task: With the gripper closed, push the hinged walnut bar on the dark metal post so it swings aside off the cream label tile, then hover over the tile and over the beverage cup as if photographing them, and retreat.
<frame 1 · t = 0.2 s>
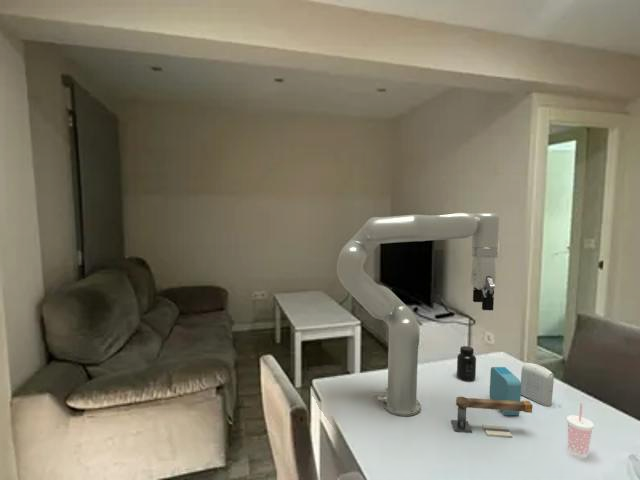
hand: (482, 305, 122), 36 cm above the table, tool pointing down, fingers open, 9 cm apart
post: (461, 427, 117), on the table
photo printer: (535, 400, 134), on the table
swing bar: (493, 404, 115), point 8 cm above the table, hinge at 0.0°
label tile: (496, 431, 115), on the table
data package: (503, 407, 129), on the table
beverage cup: (577, 453, 106), on the table
supplement bottle: (465, 378, 151), on the table
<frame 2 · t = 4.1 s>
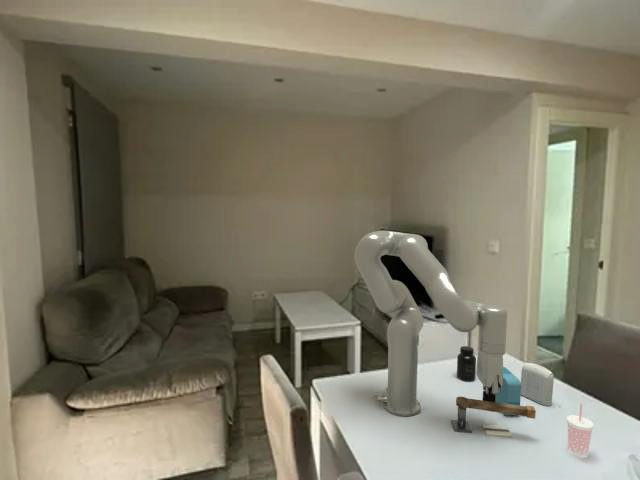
hand: (488, 404, 117), 7 cm above the table, tool pointing down, fingers closed
swing bar: (494, 406, 114), point 8 cm above the table, hinge at 9.5°, touching gripper
everything else where it was.
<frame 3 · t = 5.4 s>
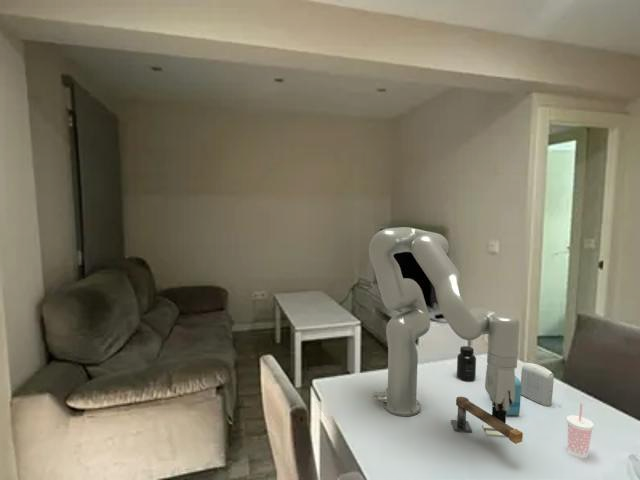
hand: (498, 421, 108), 7 cm above the table, tool pointing down, fingers closed
swing bar: (485, 417, 108), point 8 cm above the table, hinge at 58.9°
everything else where it was.
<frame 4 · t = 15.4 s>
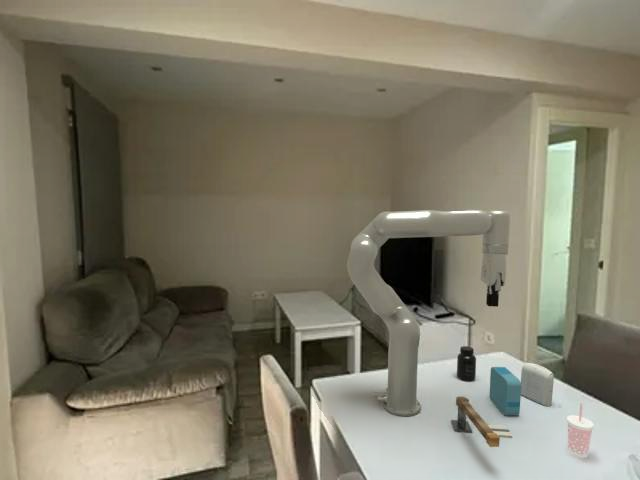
hand: (492, 305, 124), 35 cm above the table, tool pointing down, fingers closed
swing bar: (475, 418, 108), point 8 cm above the table, hinge at 80.3°
everything else where it was.
at the end: swing bar at +80° (first picture: +0°); beverage cup moved 0.2 cm from its start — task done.
